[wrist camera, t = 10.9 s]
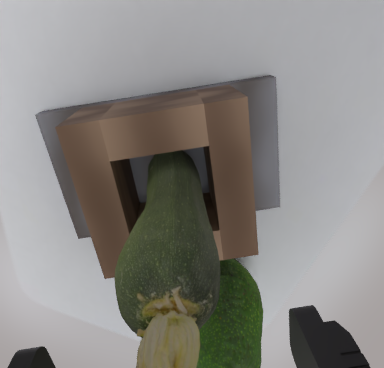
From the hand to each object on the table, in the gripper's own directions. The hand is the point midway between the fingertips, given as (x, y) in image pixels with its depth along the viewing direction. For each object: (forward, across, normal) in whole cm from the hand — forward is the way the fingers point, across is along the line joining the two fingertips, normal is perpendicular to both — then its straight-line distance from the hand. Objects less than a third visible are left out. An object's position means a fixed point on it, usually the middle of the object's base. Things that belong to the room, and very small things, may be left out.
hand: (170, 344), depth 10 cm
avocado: (+18, -2, +12) cm, 22 cm away
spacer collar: (+18, 0, 0) cm, 18 cm away
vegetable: (+17, 0, 0) cm, 17 cm away
